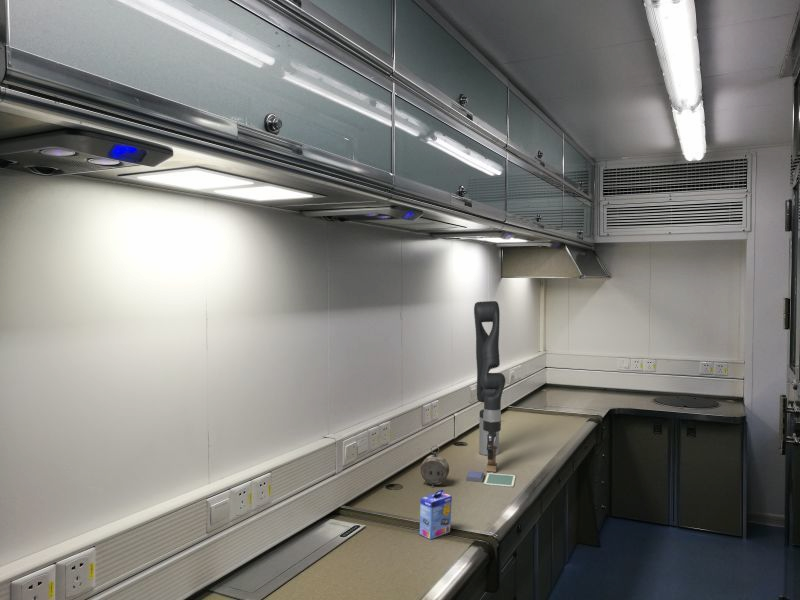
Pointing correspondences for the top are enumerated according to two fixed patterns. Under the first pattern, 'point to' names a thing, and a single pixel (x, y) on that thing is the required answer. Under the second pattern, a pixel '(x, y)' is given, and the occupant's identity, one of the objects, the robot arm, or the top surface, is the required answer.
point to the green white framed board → (499, 480)
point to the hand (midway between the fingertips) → (491, 456)
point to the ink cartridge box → (435, 514)
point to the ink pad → (475, 476)
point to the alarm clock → (434, 469)
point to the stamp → (492, 462)
